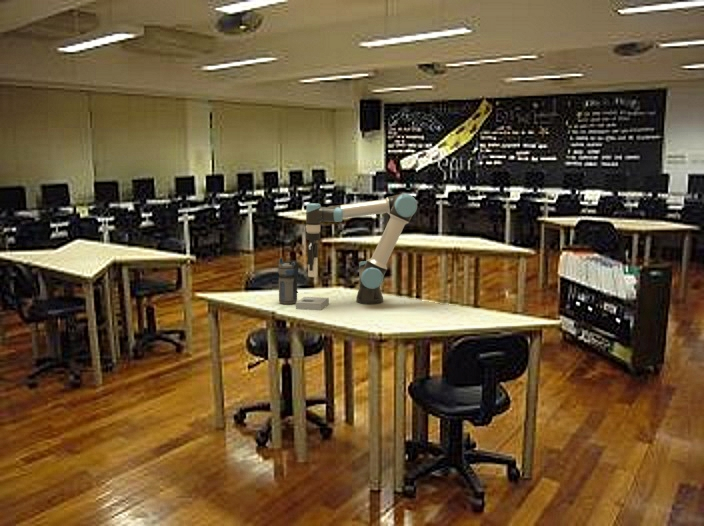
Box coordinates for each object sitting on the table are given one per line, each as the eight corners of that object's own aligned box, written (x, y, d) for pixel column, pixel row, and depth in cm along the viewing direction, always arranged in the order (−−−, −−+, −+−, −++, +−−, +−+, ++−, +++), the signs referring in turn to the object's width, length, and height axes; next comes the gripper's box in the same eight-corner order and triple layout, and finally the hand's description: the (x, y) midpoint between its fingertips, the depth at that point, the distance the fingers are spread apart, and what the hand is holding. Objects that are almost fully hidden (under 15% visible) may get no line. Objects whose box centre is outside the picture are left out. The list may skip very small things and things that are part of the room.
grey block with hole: (328, 303, 346) (328, 297, 345) (320, 310, 330) (320, 303, 330) (304, 302, 349) (304, 296, 348) (295, 308, 333) (295, 302, 333)
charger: (317, 275, 336) (317, 257, 335) (315, 277, 332) (315, 258, 331) (310, 275, 337) (310, 257, 336) (308, 276, 333) (308, 257, 332)
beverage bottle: (293, 306, 341) (292, 260, 337) (274, 303, 348) (273, 259, 344) (304, 302, 349) (303, 258, 346) (285, 300, 356) (284, 257, 353)
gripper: (310, 230, 340) (310, 273, 344) (301, 233, 324) (301, 277, 327) (324, 231, 339) (323, 273, 342) (315, 234, 322) (315, 278, 326)
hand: (312, 275), depth 335 cm, fingers closed on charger, 4 cm apart
